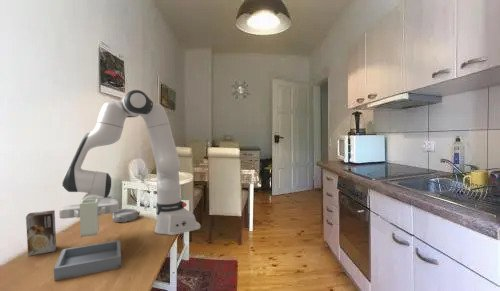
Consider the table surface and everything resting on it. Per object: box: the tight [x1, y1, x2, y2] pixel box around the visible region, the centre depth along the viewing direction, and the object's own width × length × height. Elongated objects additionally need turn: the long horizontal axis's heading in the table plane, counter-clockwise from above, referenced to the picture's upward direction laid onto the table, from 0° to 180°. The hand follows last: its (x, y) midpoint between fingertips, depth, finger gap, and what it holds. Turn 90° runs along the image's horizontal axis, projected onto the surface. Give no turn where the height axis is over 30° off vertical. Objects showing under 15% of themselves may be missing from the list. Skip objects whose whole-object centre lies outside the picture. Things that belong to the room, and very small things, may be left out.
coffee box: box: [25, 209, 57, 256], centre depth 116 cm, size 9×6×16 cm
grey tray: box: [53, 239, 122, 281], centre depth 104 cm, size 20×18×4 cm
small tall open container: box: [79, 199, 100, 238], centre depth 104 cm, size 5×7×12 cm
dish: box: [112, 208, 141, 223], centre depth 161 cm, size 14×14×5 cm
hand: (89, 214), depth 104 cm, fingers closed on small tall open container, 5 cm apart
